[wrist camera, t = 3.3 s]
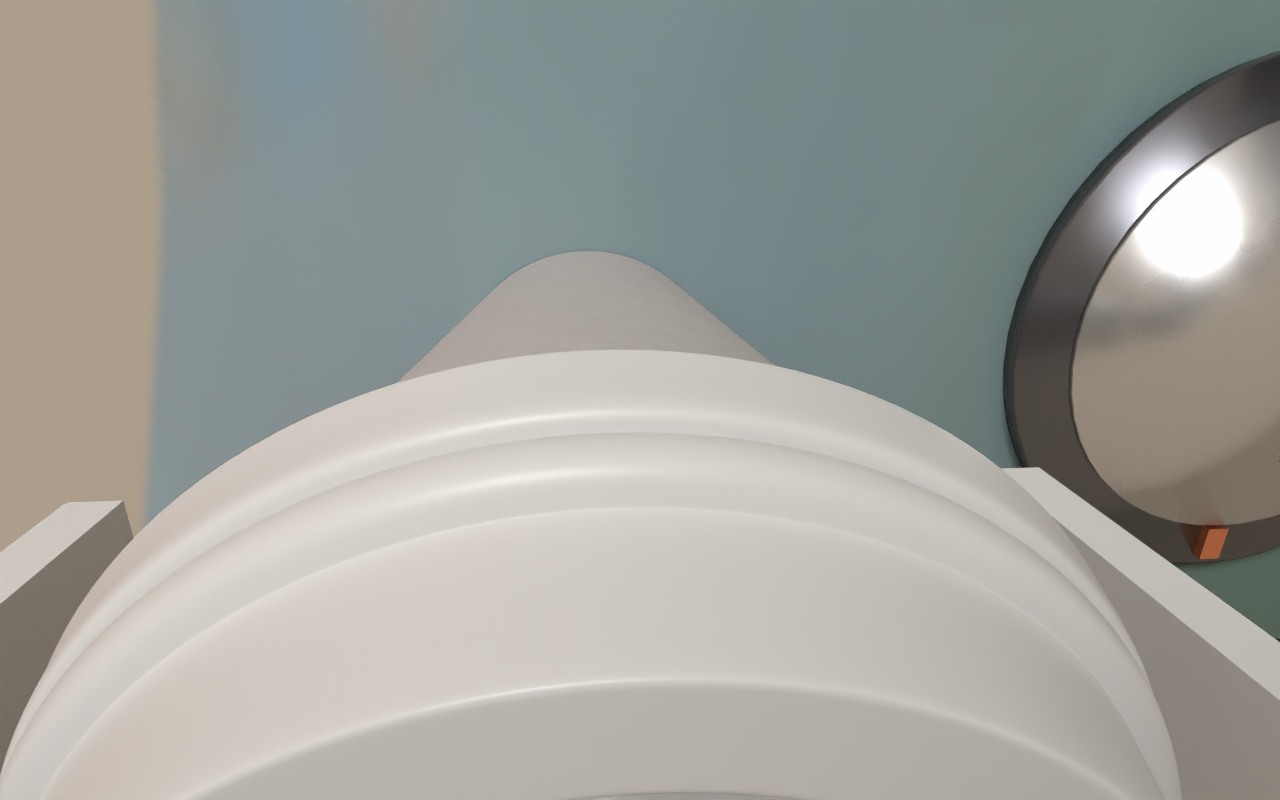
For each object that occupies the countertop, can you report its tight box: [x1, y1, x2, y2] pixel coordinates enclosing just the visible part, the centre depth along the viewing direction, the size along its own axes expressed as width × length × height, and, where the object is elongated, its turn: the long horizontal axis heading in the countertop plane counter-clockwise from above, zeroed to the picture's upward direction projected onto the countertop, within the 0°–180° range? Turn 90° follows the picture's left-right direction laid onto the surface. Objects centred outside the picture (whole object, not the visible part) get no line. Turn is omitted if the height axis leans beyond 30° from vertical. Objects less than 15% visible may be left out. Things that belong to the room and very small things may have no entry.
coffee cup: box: [0, 251, 1182, 800], centre depth 12 cm, size 10×10×15 cm
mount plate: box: [1004, 51, 1280, 563], centre depth 19 cm, size 14×14×1 cm
